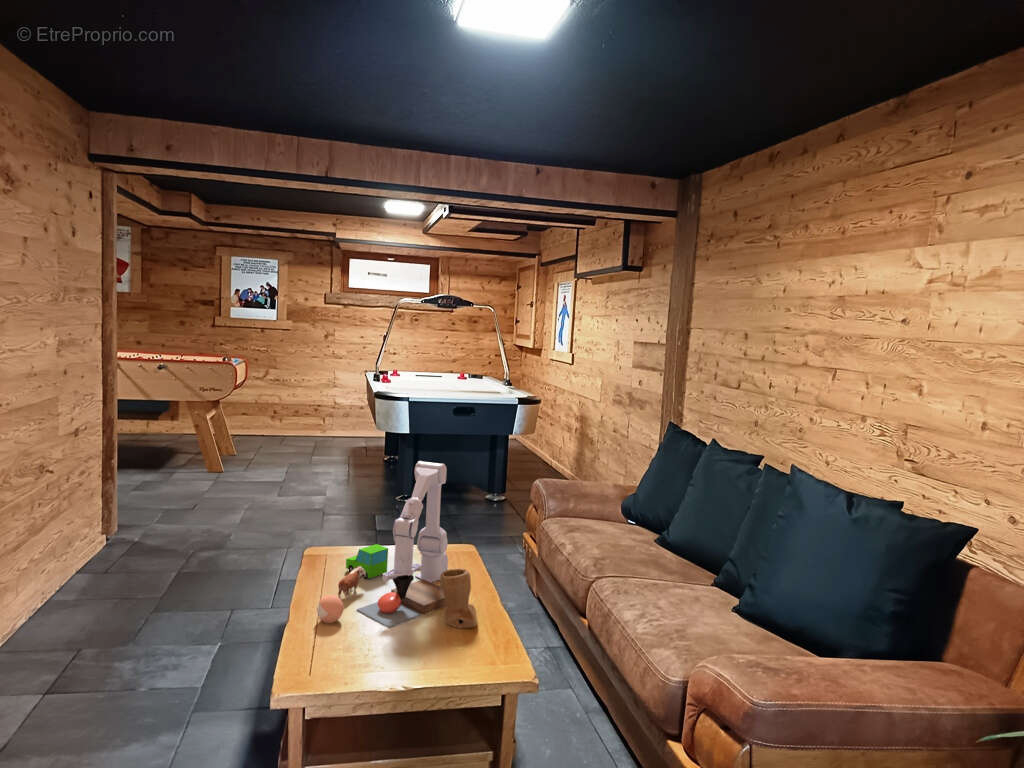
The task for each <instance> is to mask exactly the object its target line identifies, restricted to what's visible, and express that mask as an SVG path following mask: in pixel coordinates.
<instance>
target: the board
mask: <svg viewBox="0 0 1024 768" xmlns="http://www.w3.org/2000/svg"><path fill="white" fill-rule="evenodd" d="M390 592H396V593H397V589H396V587H395V588H393V589H391V590H390ZM400 599H401V598H400ZM401 604H403V605H405V606H407V607H409V608H411V609H413V610H415V611H417V612H419V613H421V614H423V615H422V616H424V615H426V613H427V614H430V613H432V612H434V610H435V611H437V610H439V609H440V610H441V609H443V608H446V607H447V604H446V601H445V597H444V594H443V591H442V588H441V585H438V584H435V583H434V582H429V581H426V580H424V579H419V580H416V581H413V582H411V583H410V585H409V587H408V590H407V593H406V596H405V598H403V599H401ZM429 612H430V613H429Z"/></svg>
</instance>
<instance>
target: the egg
mask: <svg viewBox="0 0 1024 768" xmlns="http://www.w3.org/2000/svg"><path fill="white" fill-rule="evenodd" d="M340 598H341V597H340ZM340 598H339V597H338V596H337V595H334V594H329V595H325V596H323V597H322V598H320V599H319V600H318V602H319V603H318V605H317V607H316V613H317V615H318V617H319V618H318V619H319V620H320V621H321V622H322V623H324V624H325V623H326V624H331V623H334V622H335V623H336V621H338V620H339V619H340V618H341V617H342V616H343V613H344V608H345V607H344V602H343V601H342V598H341V599H340Z"/></svg>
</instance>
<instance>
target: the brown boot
mask: <svg viewBox="0 0 1024 768" xmlns="http://www.w3.org/2000/svg"><path fill="white" fill-rule="evenodd" d="M471 586H472V584H471V574H470V571H468V570H467V569H465V568H451V569H447V570H446V571H444V572H443V573H442V574H441V577H440V587H441V588H442V591H443V594H444V597H445V601H446V604H447V606H445V607H444V621H445V623H446V624H447V625H449V626H452V627H454V628H457V629H468V628H469V629H470V628H474V627H476V626H477V625H478V616H477V610H476V607H475V606H474V605H473V604H470V603H469V600H470V599H469V598H470V594H471V588H472V587H471Z"/></svg>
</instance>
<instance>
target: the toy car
mask: <svg viewBox="0 0 1024 768" xmlns="http://www.w3.org/2000/svg"><path fill="white" fill-rule="evenodd" d="M388 557H389V548H388V547H385V546H383V545H380V544H378V543H376V544H373V545H369V546H366V547H361V548H359V549H358V552H357V555H354V556H351V557H348V558H345V568H346V569H347V570H348V573H350V572H352V571H353V570H354V569H355V567H359V566H361V567H362V568H363V569H364V571H365V572H366V574H362V575H361V576H362V577H363V579H364V580H370V579H371V578H375V577H377V576H380V575H383V574H385V573H387V572H388V562H389V561H388Z"/></svg>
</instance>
